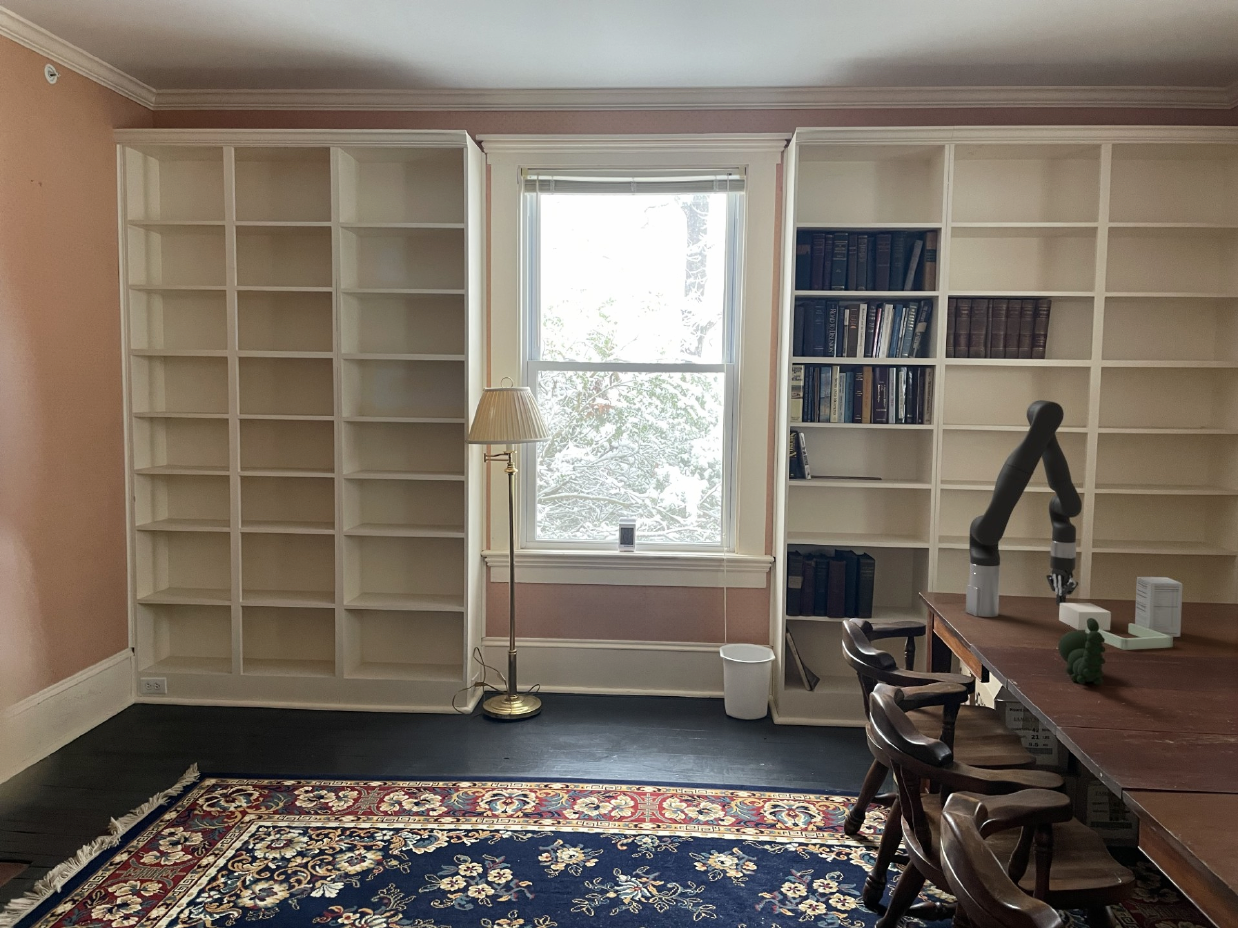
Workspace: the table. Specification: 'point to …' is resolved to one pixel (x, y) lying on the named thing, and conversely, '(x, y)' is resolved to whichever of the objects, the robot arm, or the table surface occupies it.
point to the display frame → (1145, 642)
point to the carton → (1084, 615)
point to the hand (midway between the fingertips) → (1060, 605)
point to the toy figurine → (1084, 654)
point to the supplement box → (1159, 605)
